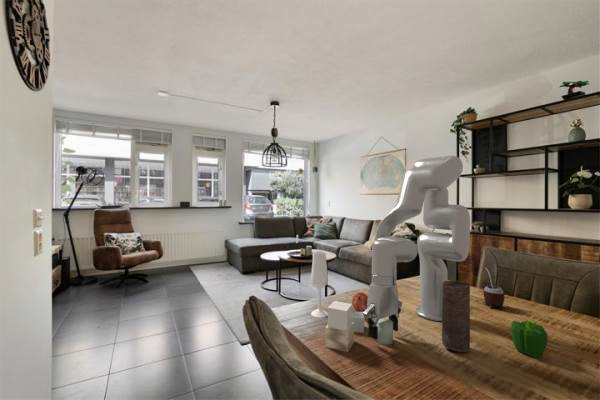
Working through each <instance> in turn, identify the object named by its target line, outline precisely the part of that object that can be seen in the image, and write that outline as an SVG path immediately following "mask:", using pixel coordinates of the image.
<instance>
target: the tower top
mask: <svg viewBox="0 0 600 400" xmlns="http://www.w3.org/2000/svg"><path fill="white" fill-rule="evenodd" d="M352 311H353V305H352V303H348V302H341V301H336V300H334V301H332V303H331V304H330V305H329V306H327V313H328V315H327V325H328V327H329V328H334V329H338V330H343V331H347V330H348V329H349V327H350V326H351V324H352Z"/></svg>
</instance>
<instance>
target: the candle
mask: <svg viewBox="0 0 600 400" xmlns="http://www.w3.org/2000/svg"><path fill="white" fill-rule="evenodd" d="M470 307H471V284H470V283H469V282H467V281H463V280H462V281H461V280H450V279H447V281H444V282H443V298H442V321H441V343H442V346H444V347H445V348H446V349H448V350H449V349H450V350H452V351H455V352H458V353H462V352H469V351H470V349H471V347H470V345H471V317H470V316H471V308H470Z"/></svg>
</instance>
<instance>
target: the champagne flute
mask: <svg viewBox="0 0 600 400" xmlns="http://www.w3.org/2000/svg"><path fill="white" fill-rule="evenodd" d="M326 255H327V254H326V251H322V250H317V251H316V250H315V251H313V252H312V264H311V276H310V282H311V285H312V286H314V287H315V289H317V308H316V309H315V310H313V311H312V312H311V313H310V315H311V316H312V317H315V318H326V317H328V311H326V310H323V309H322V289H324V288H325V287H326V286H327V284H328V283H329V277H328V276H329V275H328V265H327V256H326Z"/></svg>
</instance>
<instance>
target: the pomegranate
mask: <svg viewBox="0 0 600 400" xmlns="http://www.w3.org/2000/svg"><path fill="white" fill-rule="evenodd" d="M367 302H368V294H366V293H365V292H358V293H356V294H354V295H353V296H352V299H351V304H352V308H353V309H354V310H355V311H356V312H364V311H365V310H366V309H367Z"/></svg>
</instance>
